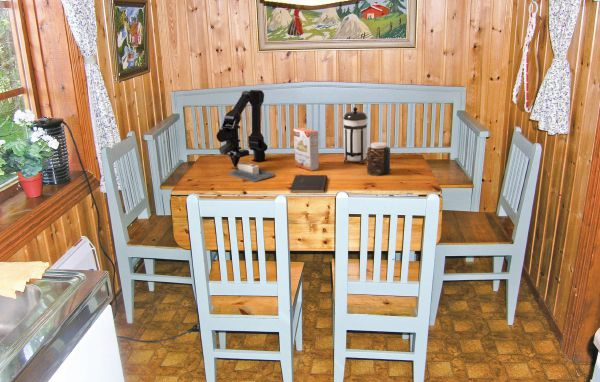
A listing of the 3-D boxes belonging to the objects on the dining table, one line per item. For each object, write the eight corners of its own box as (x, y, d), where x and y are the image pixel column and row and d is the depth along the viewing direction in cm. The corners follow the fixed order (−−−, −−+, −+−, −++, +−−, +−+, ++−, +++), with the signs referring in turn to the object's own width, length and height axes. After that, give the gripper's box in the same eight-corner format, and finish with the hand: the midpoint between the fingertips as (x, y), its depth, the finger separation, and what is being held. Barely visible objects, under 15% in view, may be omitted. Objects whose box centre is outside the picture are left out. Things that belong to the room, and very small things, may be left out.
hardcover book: (289, 193, 260) (289, 189, 260) (295, 179, 282) (295, 175, 281) (324, 193, 259) (324, 189, 258) (327, 179, 280) (327, 174, 280)
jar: (389, 176, 280) (389, 146, 276) (366, 175, 282) (366, 146, 278) (390, 169, 291) (391, 141, 286) (368, 169, 293) (368, 141, 289)
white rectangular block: (238, 170, 294) (237, 163, 293) (244, 169, 297) (243, 161, 295) (252, 175, 286) (252, 166, 285) (258, 173, 288) (258, 165, 287)
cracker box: (294, 166, 303) (293, 128, 297) (303, 164, 307) (302, 126, 300) (310, 171, 293) (309, 132, 286) (319, 169, 296) (318, 130, 290)
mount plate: (228, 174, 293) (227, 169, 292) (249, 168, 302) (248, 164, 301) (254, 182, 278) (253, 176, 277) (275, 175, 287) (274, 170, 286)
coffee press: (335, 160, 312) (334, 107, 302) (360, 156, 318) (360, 104, 309) (350, 167, 297) (350, 111, 287) (376, 163, 303) (377, 108, 294)
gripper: (210, 138, 295) (212, 167, 300) (231, 143, 282) (234, 173, 287) (227, 134, 302) (229, 162, 307) (249, 139, 289) (250, 168, 294)
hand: (235, 166), depth 298 cm, fingers closed
